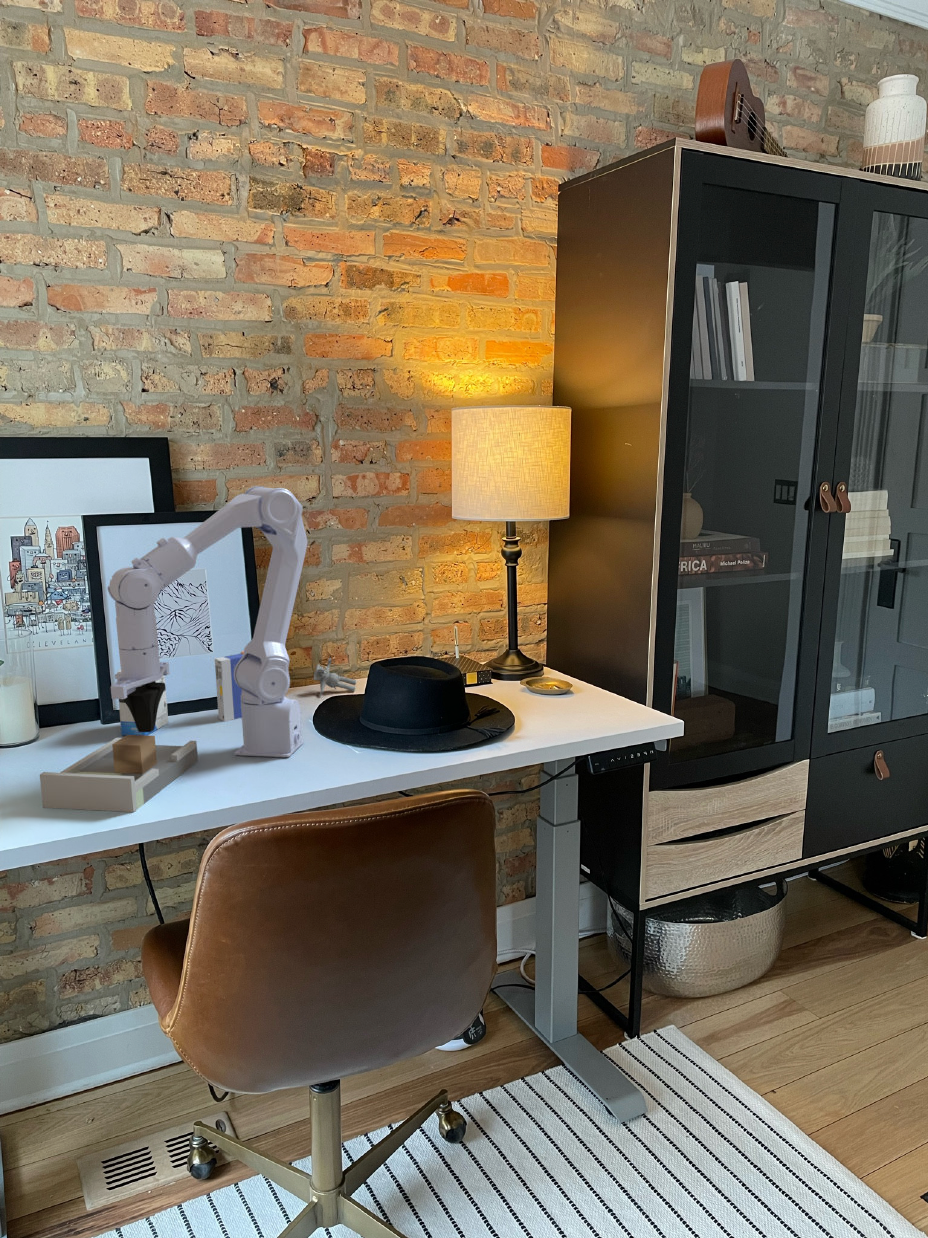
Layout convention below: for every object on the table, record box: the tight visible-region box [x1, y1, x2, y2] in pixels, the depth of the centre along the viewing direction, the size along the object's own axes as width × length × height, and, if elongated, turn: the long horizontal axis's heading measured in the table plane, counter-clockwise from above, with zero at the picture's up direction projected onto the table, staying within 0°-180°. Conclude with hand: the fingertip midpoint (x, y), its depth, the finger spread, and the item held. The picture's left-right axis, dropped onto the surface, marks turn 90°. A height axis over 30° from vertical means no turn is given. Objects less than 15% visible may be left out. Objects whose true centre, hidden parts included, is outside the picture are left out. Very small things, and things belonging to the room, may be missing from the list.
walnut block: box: [112, 735, 157, 774], centre depth 141 cm, size 4×4×4 cm
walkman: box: [214, 650, 244, 722], centre depth 175 cm, size 8×3×12 cm, turn 133°
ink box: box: [116, 669, 169, 736], centre depth 167 cm, size 8×5×12 cm, turn 168°
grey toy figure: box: [313, 657, 358, 699], centre depth 191 cm, size 10×6×9 cm
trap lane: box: [38, 737, 199, 813], centre depth 142 cm, size 14×21×5 cm, turn 171°
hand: (146, 730), depth 144 cm, fingers closed
